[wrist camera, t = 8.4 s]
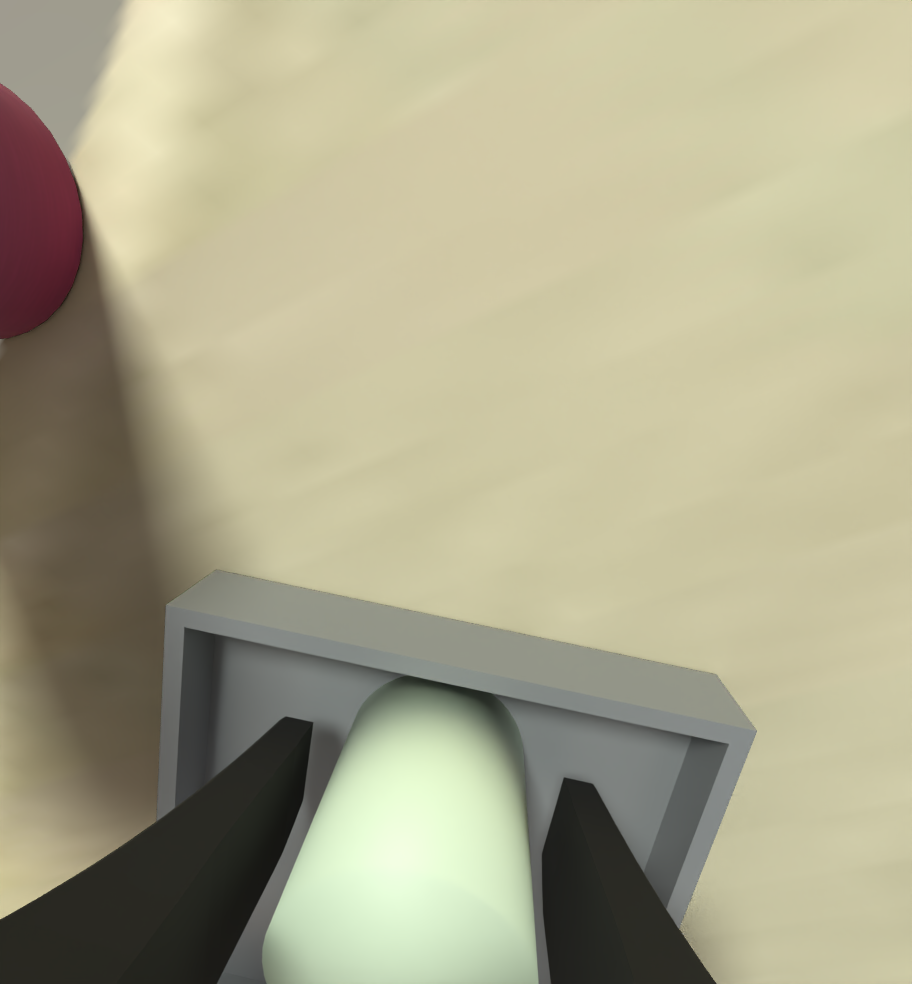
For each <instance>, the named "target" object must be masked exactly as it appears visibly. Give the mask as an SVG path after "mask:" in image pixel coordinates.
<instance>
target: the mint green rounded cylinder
mask: <svg viewBox="0 0 912 984" xmlns="http://www.w3.org/2000/svg"><path fill="white" fill-rule="evenodd" d="M262 965H263V972H264V977H265V980H266V983H267V984H539V982H538V966H537V951H536V936H535V921H534V906H533V890H532V875H531V860H530V845H529V830H528V814H527V799H526V784H525V769H524V754H523V744H522V738H521V734H520V731H519V728H518V726H517V724H516V722H515V719H514V718H513V716H512V715H511V713H510V712H509V710H508V709H507V708H506V707H505V705H504V704H503V703H502V702H501V701H500V700H499V699H498V698H497V697H496V696H494V695H493V694H492V693H489V692H484V691H480V690H475V689H470V688H466V687H461V686H456V685H452V684H447V683H442V682H438V681H433V680H428V679H424V678H419V677H414V676H410V675H406V676H403V677H400V678H397V679H394V680H392V681H390V682H388V683H386V684H384V685H383V686H381V687H380V688H378V689H377V690H376V691H374V692H373V693H372V694H371V695H370V696H369V697H368V698H367V699H366V701H365V702H364V703H363V704H362V706H361V707H360V709H359V711H358V712H357V715H356V717H355V719H354V722H353V724H352V727H351V729H350V732H349V734H348V736H347V739H346V741H345V744H344V746H343V748H342V751H341V753H340V756H339V758H338V761H337V763H336V765H335V768H334V770H333V773H332V775H331V777H330V780H329V782H328V785H327V787H326V789H325V792H324V794H323V797H322V799H321V802H320V804H319V806H318V809H317V811H316V814H315V816H314V818H313V821H312V823H311V826H310V828H309V831H308V833H307V835H306V838H305V840H304V843H303V845H302V847H301V850H300V852H299V855H298V857H297V860H296V862H295V864H294V867H293V869H292V872H291V874H290V876H289V879H288V881H287V884H286V886H285V889H284V891H283V893H282V896H281V898H280V901H279V903H278V905H277V908H276V910H275V913H274V915H273V918H272V920H271V922H270V925H269V927H268V930H267V932H266V935H265V939H264V944H263V949H262Z"/></svg>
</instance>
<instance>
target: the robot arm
mask: <svg viewBox="0 0 912 984" xmlns="http://www.w3.org/2000/svg"><path fill="white" fill-rule="evenodd" d="M313 723H314V722H310V721H306V720H301V719H296V718H292V717H287V716H285V717H284V718H282V719H280V720H279V721H278V722H277V723H276V724H275V725H274V726H273V727H272V728H270V729H269V730H268V731H267V732H266V733H265V734H264V735H263V736H262V737H261V738H259V739H258V740H257V741H256V742H255V743H254V744H253V745H252V746H250V747H249V748H248V749H247V750H246V751H245V752H243V753H242V754H241V755H240V756H239V757H238V758H237V759H235V760H234V761H233V762H232V763H231V764H229V765H228V766H227V767H226V768H225V769H223V770H222V771H221V772H220V773H218V774H217V775H216V776H215V777H214V778H212V779H211V780H210V781H209V782H207V783H206V784H205V785H204V786H203V787H201V788H200V789H199V790H198V791H196V792H195V793H194V794H192V795H191V796H190V797H188V798H187V799H186V800H184V801H183V802H182V803H180V804H179V805H178V806H176V807H175V808H174V809H172V810H171V811H170V812H169V813H167V814H166V815H165V816H163V817H162V818H161V819H159V820H158V821H157V822H155V823H154V824H152V825H151V826H150V827H148V828H147V829H145V830H144V831H143V832H141V833H140V834H138V835H137V836H135V837H134V838H133V839H131V840H130V841H128V842H127V843H125V844H124V845H122V846H121V847H119V848H118V849H116V850H115V851H113V852H112V853H110V854H109V855H107V856H106V857H104V858H102V859H101V860H99V861H98V862H96V863H95V864H93V865H92V866H90V867H89V868H87V869H85V870H84V871H82V872H80V873H79V874H77V875H76V876H74V877H72V878H71V879H69V880H67V881H66V882H64V883H62V884H61V885H59V886H57V887H56V888H54V889H52V890H51V891H49V892H47V893H46V894H44V895H43V896H41V897H39V898H37V899H36V900H34V901H32V902H30V903H29V904H27V905H25V906H24V907H22V908H20V909H18V910H17V911H15V912H13V913H11V914H9V915H8V916H6V917H4V918H2V919H0V984H217V983H218V981H219V979H220V977H221V975H222V973H223V971H224V969H225V967H226V965H227V963H228V961H229V959H230V957H231V955H232V953H233V951H234V949H235V947H236V945H237V943H238V941H239V939H240V937H241V935H242V933H243V931H244V929H245V927H246V925H247V923H248V921H249V919H250V917H251V915H252V913H253V911H254V909H255V907H256V905H257V903H258V902H259V900H260V898H261V896H262V894H263V892H264V890H265V888H266V886H267V884H268V882H269V880H270V878H271V876H272V874H273V872H274V870H275V868H276V866H277V864H278V861H279V859H280V857H281V855H282V853H283V851H284V848H285V846H286V843H287V841H288V838H289V836H290V833H291V831H292V828H293V826H294V823H295V820H296V818H297V815H298V812H299V810H300V807H301V805H302V802H303V798H304V790H305V783H306V775H307V768H308V760H309V753H310V745H311V738H312V730H313ZM542 900H543V919H544V928H545V937H546V946H547V954H548V963H549V972H550V980H551V984H716V982H715V981H714V980H713V978H712V977H711V975H710V974H709V973H708V971H707V970H706V968H705V967H704V965H703V964H702V963H701V961H700V960H699V958H698V957H697V955H696V954H695V952H694V951H693V949H692V948H691V946H690V945H689V943H688V942H687V940H686V939H685V937H684V936H683V934H682V933H681V931H680V930H679V928H678V927H677V925H676V924H675V922H674V921H673V919H672V917H671V916H670V914H669V913H668V911H667V910H666V908H665V906H664V905H663V903H662V902H661V900H660V898H659V897H658V895H657V893H656V892H655V890H654V888H653V887H652V885H651V884H650V882H649V880H648V879H647V877H646V875H645V874H644V872H643V870H642V869H641V867H640V865H639V864H638V862H637V860H636V859H635V857H634V855H633V853H632V852H631V850H630V848H629V846H628V845H627V843H626V841H625V839H624V838H623V836H622V834H621V832H620V831H619V829H618V827H617V825H616V823H615V822H614V820H613V818H612V816H611V814H610V813H609V811H608V809H607V807H606V805H605V804H604V802H603V800H602V798H601V796H600V794H599V793H598V791H597V789H596V788H595V786H594V784H592V783H588V782H583V781H579V780H574V779H570V778H565V777H564V778H563V782H562V785H561V789H560V792H559V796H558V799H557V803H556V806H555V810H554V813H553V817H552V820H551V823H550V827H549V830H548V834H547V837H546V841H545V844H544V848H543V851H542Z"/></svg>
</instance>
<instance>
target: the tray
mask: <svg viewBox="0 0 912 984" xmlns="http://www.w3.org/2000/svg"><path fill="white" fill-rule="evenodd" d="M406 675H410V676H414V677H419V678H424V679H428V680H433V681H438V682H442V683H447V684H452V685H456V686H461V687H466V688H470V689H475V690H480V691H484V692H489V693H492V694H493V695H494V696H496V697H497V698H498V699H499V700H500V701H501V702H502V703H503V704H504V705H505V707H506V708H507V709H508V710H509V712H510V713H511V715H512V716H513V718H514V719H515V722H516V724H517V726H518V728H519V731H520V734H521V738H522V744H523V754H524V769H525V784H526V799H527V814H528V830H529V845H530V860H531V875H532V890H533V906H534V921H535V936H536V951H537V966H538V982H539V984H551V980H550V972H549V963H548V954H547V946H546V937H545V928H544V919H543V900H542V851H543V848H544V844H545V841H546V837H547V834H548V830H549V827H550V823H551V820H552V817H553V813H554V810H555V806H556V803H557V799H558V796H559V792H560V789H561V785H562V782H563V778H564V777H565V778H570V779H574V780H579V781H583V782H588V783H592V784H594V786H595V788H596V789H597V791H598V793H599V794H600V796H601V798H602V800H603V802H604V804H605V805H606V807H607V809H608V811H609V813H610V814H611V816H612V818H613V820H614V822H615V823H616V825H617V827H618V829H619V831H620V832H621V834H622V836H623V838H624V839H625V841H626V843H627V845H628V846H629V848H630V850H631V852H632V853H633V855H634V857H635V859H636V860H637V862H638V864H639V865H640V867H641V869H642V870H643V872H644V874H645V875H646V877H647V879H648V880H649V882H650V884H651V885H652V887H653V888H654V890H655V892H656V893H657V895H658V897H659V898H660V900H661V902H662V903H663V905H664V906H665V908H666V910H667V911H668V913H669V914H670V916H671V917H672V919H673V921H674V922H675V924H676V925H677V927H678V928H680V925H681V923H682V920H683V917H684V915H685V912H686V910H687V907H688V905H689V902H690V900H691V897H692V895H693V892H694V890H695V887H696V885H697V882H698V879H699V877H700V874H701V872H702V869H703V867H704V864H705V862H706V859H707V857H708V854H709V852H710V849H711V847H712V844H713V841H714V839H715V836H716V834H717V831H718V829H719V826H720V824H721V821H722V819H723V816H724V814H725V811H726V809H727V806H728V803H729V801H730V798H731V796H732V793H733V791H734V788H735V786H736V783H737V781H738V778H739V776H740V773H741V770H742V768H743V765H744V763H745V760H746V758H747V755H748V753H749V750H750V748H751V745H752V743H753V740H754V738H755V735H756V732H757V730H756V729H755V727H754V726H753V725H752V723H751V722H750V720H749V719H748V718H747V716H746V715H745V713H744V712H743V711H742V709H741V708H740V707H739V705H738V704H737V702H736V701H735V700H734V698H733V697H732V695H731V694H730V693H729V691H728V690H727V688H726V687H725V686H724V684H723V683H722V682H721V680H720V679H719V677H718V676H717V675H716V674H711V673H706V672H701V671H697V670H692V669H687V668H682V667H678V666H673V665H668V664H663V663H659V662H654V661H649V660H644V659H639V658H635V657H630V656H625V655H620V654H616V653H611V652H606V651H601V650H597V649H592V648H587V647H582V646H577V645H573V644H568V643H563V642H558V641H554V640H549V639H544V638H539V637H535V636H530V635H525V634H520V633H515V632H511V631H506V630H501V629H496V628H492V627H487V626H482V625H477V624H473V623H468V622H463V621H458V620H453V619H449V618H444V617H439V616H434V615H430V614H425V613H420V612H415V611H411V610H406V609H401V608H396V607H391V606H387V605H382V604H377V603H372V602H368V601H363V600H358V599H353V598H349V597H344V596H339V595H334V594H329V593H325V592H320V591H315V590H310V589H306V588H301V587H296V586H291V585H287V584H282V583H277V582H272V581H267V580H263V579H258V578H253V577H248V576H244V575H239V574H234V573H229V572H225V571H220V570H215V571H214V572H212V573H211V574H209V575H208V576H206V577H205V578H204V579H202V580H201V581H199V582H198V583H196V584H195V585H194V586H192V587H191V588H189V589H188V590H186V591H185V592H184V593H182V594H181V595H179V596H178V597H176V598H175V599H174V600H172V601H171V602H169V603H168V604H166V613H165V636H164V659H163V682H162V705H161V728H160V751H159V774H158V797H157V820H156V822H157V821H158V820H159V819H161V818H162V817H163V816H165V815H166V814H167V813H169V812H170V811H171V810H172V809H174V808H175V807H176V806H178V805H179V804H180V803H182V802H183V801H184V800H186V799H187V798H188V797H190V796H191V795H192V794H194V793H195V792H196V791H198V790H199V789H200V788H201V787H203V786H204V785H205V784H206V783H207V782H209V781H210V780H211V779H212V778H214V777H215V776H216V775H217V774H218V773H220V772H221V771H222V770H223V769H225V768H226V767H227V766H228V765H229V764H231V763H232V762H233V761H234V760H235V759H237V758H238V757H239V756H240V755H241V754H242V753H243V752H245V751H246V750H247V749H248V748H249V747H250V746H252V745H253V744H254V743H255V742H256V741H257V740H258V739H259V738H261V737H262V736H263V735H264V734H265V733H266V732H267V731H268V730H269V729H270V728H272V727H273V726H274V725H275V724H276V723H277V722H278V721H279V720H280V719H282V718H284V717H285V716H287V717H292V718H296V719H301V720H306V721H310V722H314V723H313V730H312V738H311V745H310V753H309V760H308V768H307V775H306V783H305V790H304V798H303V802H302V805H301V807H300V810H299V812H298V815H297V818H296V820H295V823H294V826H293V828H292V831H291V833H290V836H289V838H288V841H287V843H286V846H285V848H284V851H283V853H282V855H281V857H280V859H279V861H278V864H277V866H276V868H275V870H274V872H273V874H272V876H271V878H270V880H269V882H268V884H267V886H266V888H265V890H264V892H263V894H262V896H261V898H260V900H259V902H258V903H257V905H256V907H255V909H254V911H253V913H252V915H251V917H250V919H249V921H248V923H247V925H246V927H245V929H244V931H243V933H242V935H241V937H240V939H239V941H238V943H237V945H236V947H235V949H234V951H233V953H232V955H231V957H230V959H229V961H228V963H227V965H226V967H225V969H224V971H223V973H222V975H221V977H220V979H219V981H218V983H217V984H267V983H266V980H265V977H264V972H263V965H262V949H263V944H264V939H265V935H266V932H267V930H268V927H269V925H270V922H271V920H272V918H273V915H274V913H275V910H276V908H277V905H278V903H279V901H280V898H281V896H282V893H283V891H284V889H285V886H286V884H287V881H288V879H289V876H290V874H291V872H292V869H293V867H294V864H295V862H296V860H297V857H298V855H299V852H300V850H301V847H302V845H303V843H304V840H305V838H306V835H307V833H308V831H309V828H310V826H311V823H312V821H313V818H314V816H315V814H316V811H317V809H318V806H319V804H320V802H321V799H322V797H323V794H324V792H325V789H326V787H327V785H328V782H329V780H330V777H331V775H332V773H333V770H334V768H335V765H336V763H337V761H338V758H339V756H340V753H341V751H342V748H343V746H344V744H345V741H346V739H347V736H348V734H349V732H350V729H351V727H352V724H353V722H354V719H355V717H356V715H357V712H358V711H359V709H360V707H361V706H362V704H363V703H364V702H365V701H366V699H367V698H368V697H369V696H370V695H371V694H372V693H373V692H374V691H376V690H377V689H378V688H380V687H381V686H383V685H384V684H386V683H388V682H390V681H392V680H394V679H397V678H400V677H403V676H406Z"/></svg>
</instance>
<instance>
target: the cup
mask: <svg viewBox="0 0 912 984" xmlns="http://www.w3.org/2000/svg"><path fill="white" fill-rule="evenodd" d="M82 243H83V229H82V211H81V206H80V202H79V197H78V192H77V188H76V184H75V181H74V179H73V176H72V173H71V171H70V168H69V166H68V163H67V160H66V158H65V156H64V155H63V153H62V151H61V149H60V148H59V146H58V144H57V142H56V141H55V139H54V137H53V135H52V134H51V132H50V131H49V130H48V128H47V127H46V126H45V125H44V123H43V122H42V121H41V120H40V119H39V117H38V116H37V115H36V114H35V112H34V111H33V110H32V109H31V108H30V107H29V106H28V105H27V104H25V103H24V102H23V101H22V100H21V99H20V98H19V97H18V96H17V95H15V94H14V93H13V92H12V91H11V90H9V89H8V88H6V87H5V86H3V85H2V84H0V339H4V338H10V337H13V336H17V335H20V334H23V333H26V332H28V331H30V330H32V329H33V328H35V327H37V326H38V325H40V324H41V323H43V322H45V321H46V320H47V319H48V318H49V317H50V316H51V315H52V314H53V313H54V312H55V311H56V310H57V309H58V308H59V307H60V306H61V304H62V302H63V301H64V299H65V297H66V296H67V294H68V292H69V291H70V289H71V287H72V285H73V282H74V279H75V276H76V273H77V270H78V267H79V264H80V258H81V250H82Z"/></svg>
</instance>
